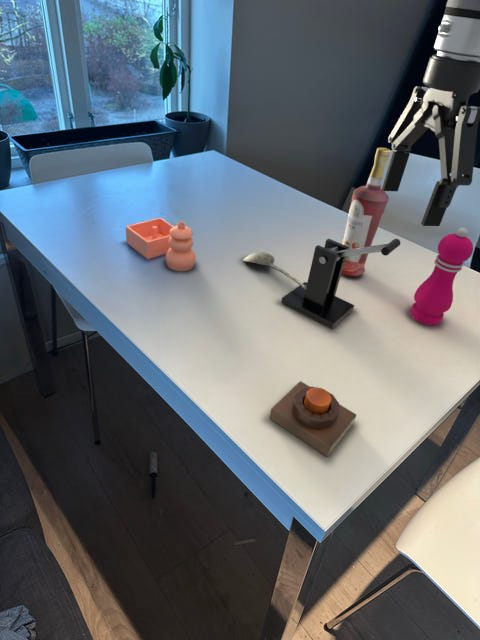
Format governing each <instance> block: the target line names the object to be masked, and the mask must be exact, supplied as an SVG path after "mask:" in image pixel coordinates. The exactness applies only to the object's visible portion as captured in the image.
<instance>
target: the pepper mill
mask: <svg viewBox="0 0 480 640" xmlns="http://www.w3.org/2000/svg"><path fill="white" fill-rule="evenodd" d="M468 233H469V231H468V229H467V228H466V227H460V228H458V229H457V230H456V233H449V234H446V235H445V236H443V237H442V238H441V240H440V241H439V242H438V244H437V252H438V254H437V255H436V257H435V259H434V265H435V266H434V268H433V270H432V273H430V275H429V276H428V277H427V278H426V279H425V280H424V281H423V282H422V283H420V285H419V286H418V287H417V289H416V290H415V292H414V295H413V299H414V302H413V304H412V306H411V308H410V311H409V313H410V316H411V317H412V318H413V319H414V321H417V323H421V324H423V325H425V326H438V325H440V324H441V322H442V321H443V318H444V316H445V314H444V313H446V312H448V311H449V310H450V309H451V307H452V305H453V302H454V291H453V288H454V281H455V278H456V276H457V275H458V273H459V272H461V271H462V269H463V267H464V266H465V265H464V264H465V262H466V261H468V260H469V259H470V258H471V257H472V254H473V253H474V245H473V242H472V240H471V239H470V238H469V237H468V236H467V235H468Z"/></svg>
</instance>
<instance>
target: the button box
mask: <svg viewBox="0 0 480 640" xmlns="http://www.w3.org/2000/svg"><path fill="white" fill-rule="evenodd" d="M311 388H318V386H317V387H316V386H311V385H308V384H306V383H304V382H303V381H298V383H296V384H295V385H294V386H293V387H292V388H291V389H290V390H289V391H288V392H287V393H286V394H285V395H284V396H283V397H281V399H280V400H279V401H278V402H277V403H276V404H275V405H273V407H272V408H271V409H270V413H269V420H271V421H272V422H274V423H275V424H277V425H278V426H280V427H281V428H282V429H284V430H286V431H288V432H289V433H290V434H292V435H294V436H295V437H296V438H298V439H300V440H301V441H302V442H304V443H305V444H307V445H309V446H310V447H311V448H313V449H314V450H316V451H317V452H319V453H320V454H321V455H323V456H325V457H329V456H330V454H331V453H332V452H333V450H334V449H335V448H336V446H337V445H338V444H339V442H341V440H342V439H343V437H345V435H346V434H347V433H348V432H349V430H350V429H351V428H352V426H353V425H354V423H355V421H356V418H357V414H356V413H355V412H353V411H351V410H350V409H348V408H347V407H345V406H343V405H341V404H340V403H339V401H338V400H337V398H336V397H335V395H334V394H333V393H331V392H330V391H328V390H326V391H327V392H328V393H329V394H330V396H331V403H330V406H329V409H328V411H327V412H325V413H323V414H315V413H312V412H310V411H309V410H308V409H307V408H306V407H305V405H304V400H305V397H306V393H307V391H308V390H309V389H311ZM320 388H321V389H323V388H322V387H320Z"/></svg>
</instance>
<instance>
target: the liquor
mask: <svg viewBox="0 0 480 640" xmlns="http://www.w3.org/2000/svg"><path fill="white" fill-rule="evenodd" d="M391 150H392V149H389V148H387V147H376V151H375V155H374V162H373V166H372V168H371V172H370V173H369V176H368V179H367V182H366V185H361V186H358V187H357V188H355V189H354V190H353V192H352V196H351V202H350V207H349V210H348V215H347V220H346V225H345V231H344V235H343V239H342V244H343V245H346V246H348V247H349V248H348V249H354V248H362V247H369V246H373V242H374V240H375V237H376V234H377V232H378V229H379V226H380V224H381V221H382V218H383V215H384V213H385V211H386V207H387V204H388V202H389V195H388V194H387V193H386V191H383V190H382V185H383V184H382V183H383V179H384V174H385V168H386V165H387V163H388V161H389V160H390V159H389V158H390V157H391V156H390V155H391V153H392V151H391ZM369 255H370V253H368V254H360V255H352V256H346V259H345V262H344V266H343V269H342V273H341V275H343V276H345V277H348V278H355V277H358V276H360V275H363V274H364V273H365V272H366V267H365V265H366V262H367V259H368V256H369Z"/></svg>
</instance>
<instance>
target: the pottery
mask: <svg viewBox="0 0 480 640" xmlns="http://www.w3.org/2000/svg"><path fill="white" fill-rule="evenodd" d="M193 234H194V233H193V230H192V228H191V227H188V226H187V225H186V222H184V221H179V222H177V225H175V226H174V225H173V224H171V223H169V222H168V221H167V220H165V219H163V218H162V217H157V218H153V219H149V220H146V221H145V220H144V221H141V222H137V223H133V224H129V225H125V241H126V244H128V246H130V247H131V248H133V249H134V250H135V251H136V252H138V253H139V254H140V255H142V257H144V258H145V259H147V260H150V259H153V258H156V257H159V256H163V255H165V262H166V266H167V267H168V269H170V270H172V271H175V272H187V271H190V270H191V269H193V268H194V266H195V263H196V253H195V251H194V250H193V249H192V248H193V245H194V240H193V238H192V236H193Z"/></svg>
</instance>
